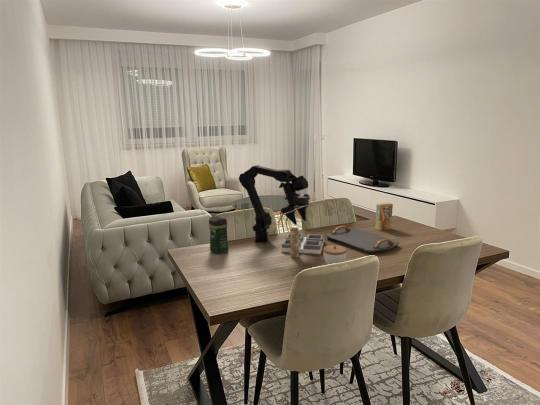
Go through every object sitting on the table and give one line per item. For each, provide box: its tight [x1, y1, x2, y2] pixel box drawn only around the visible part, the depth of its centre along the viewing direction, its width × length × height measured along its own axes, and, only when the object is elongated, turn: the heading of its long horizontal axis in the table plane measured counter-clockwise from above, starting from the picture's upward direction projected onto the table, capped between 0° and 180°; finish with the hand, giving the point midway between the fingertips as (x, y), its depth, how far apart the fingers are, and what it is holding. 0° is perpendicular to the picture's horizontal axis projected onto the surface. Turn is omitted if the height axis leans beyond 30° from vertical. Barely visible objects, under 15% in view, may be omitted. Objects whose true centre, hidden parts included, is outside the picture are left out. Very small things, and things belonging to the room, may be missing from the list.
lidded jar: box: [322, 244, 347, 265], centre depth 193 cm, size 11×11×9 cm
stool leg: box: [289, 227, 300, 259], centre depth 204 cm, size 4×4×14 cm
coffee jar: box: [208, 215, 229, 255], centre depth 211 cm, size 10×8×19 cm
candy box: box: [375, 202, 394, 231], centre depth 248 cm, size 9×4×15 cm, turn 111°
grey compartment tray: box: [280, 232, 325, 255], centre depth 219 cm, size 20×20×4 cm
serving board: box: [325, 225, 400, 255], centre depth 224 cm, size 39×23×6 cm, turn 34°
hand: (300, 222), depth 214 cm, fingers open, 9 cm apart
